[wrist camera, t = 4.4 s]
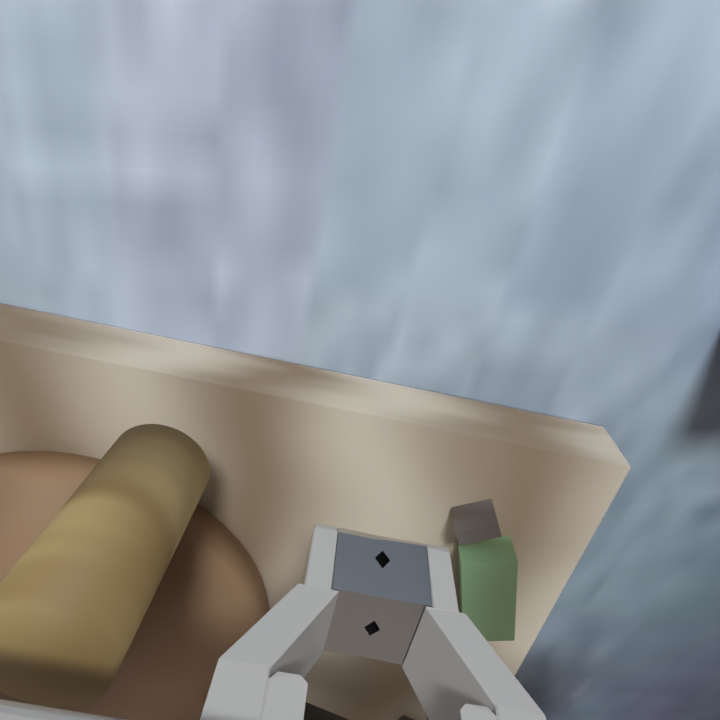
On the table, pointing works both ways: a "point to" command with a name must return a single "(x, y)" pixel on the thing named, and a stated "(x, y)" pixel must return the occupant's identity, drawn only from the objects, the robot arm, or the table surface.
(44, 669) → the record platter with tonearm
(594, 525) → the record player turntable
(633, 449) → the table surface
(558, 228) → the table surface
